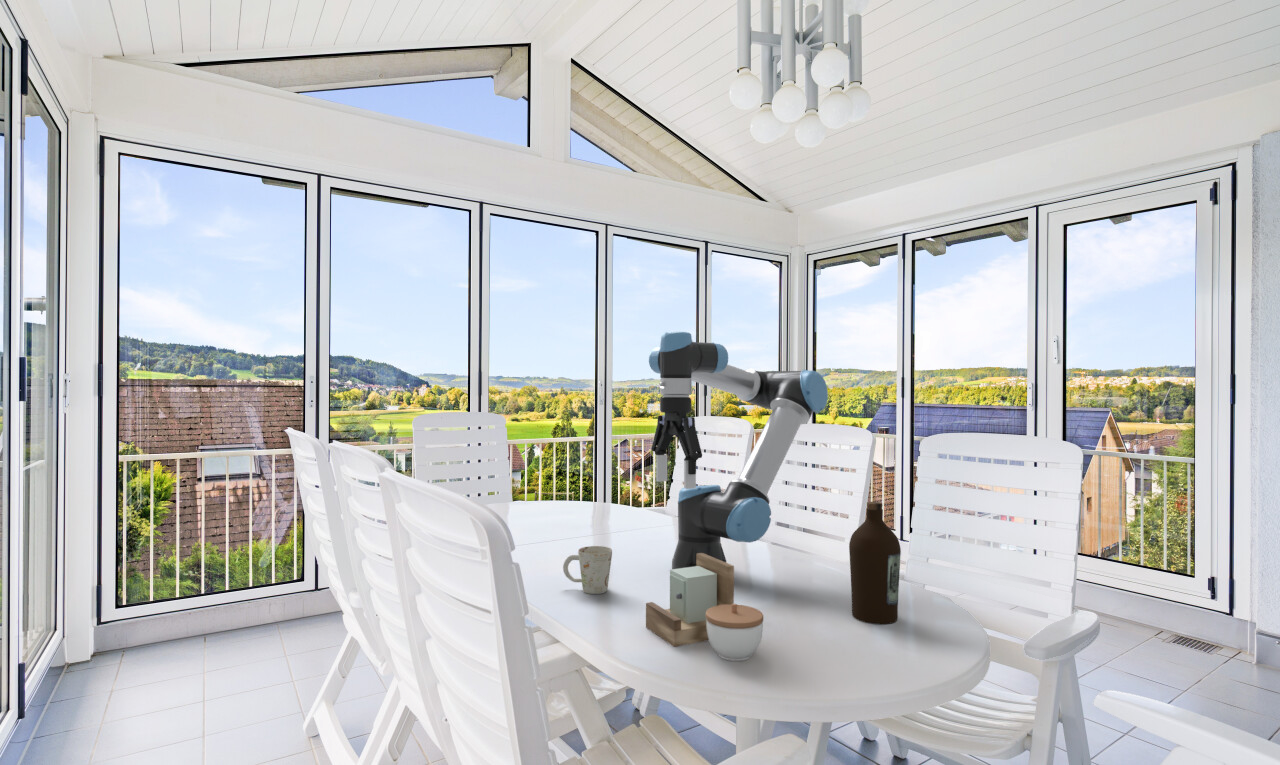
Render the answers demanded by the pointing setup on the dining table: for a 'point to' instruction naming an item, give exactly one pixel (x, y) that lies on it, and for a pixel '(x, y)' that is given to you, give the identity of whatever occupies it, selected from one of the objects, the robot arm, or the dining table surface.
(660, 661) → the dining table surface
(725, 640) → the lidded jar
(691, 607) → the cabinet block
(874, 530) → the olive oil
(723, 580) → the wooden stand
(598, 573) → the mug
